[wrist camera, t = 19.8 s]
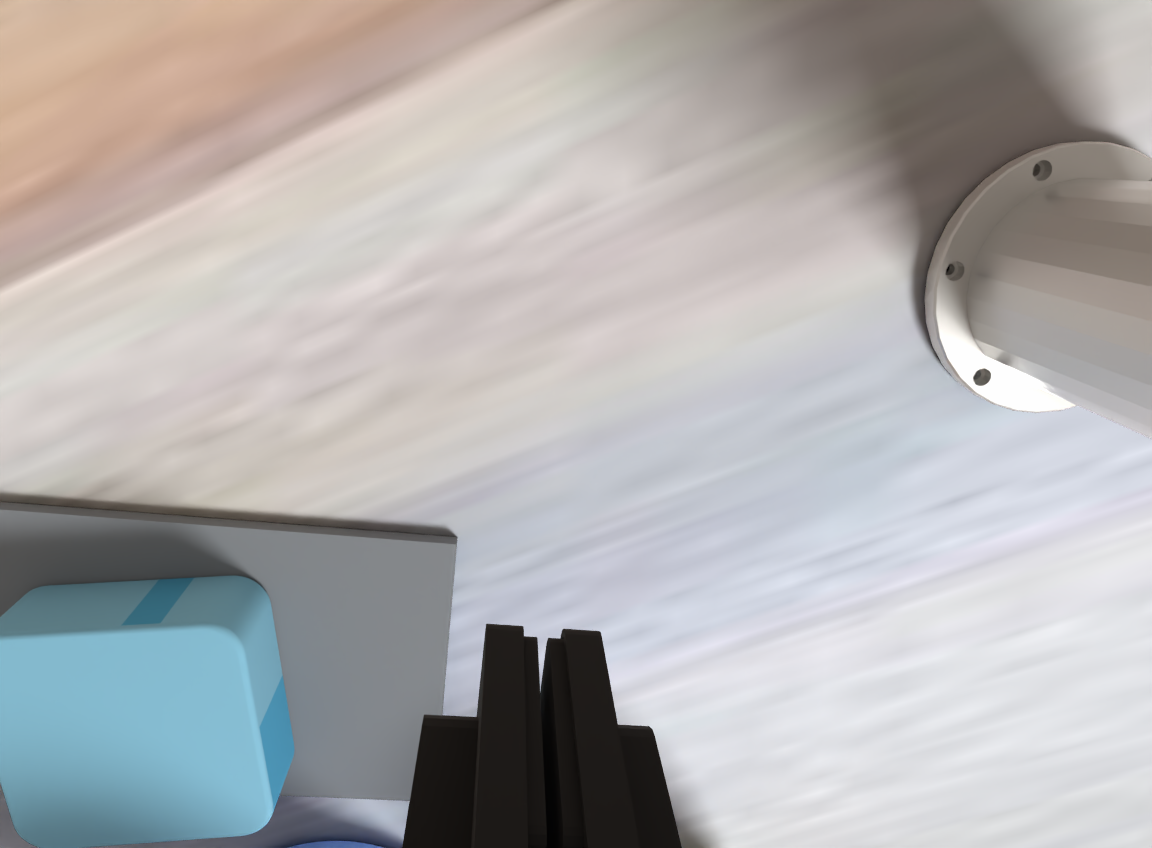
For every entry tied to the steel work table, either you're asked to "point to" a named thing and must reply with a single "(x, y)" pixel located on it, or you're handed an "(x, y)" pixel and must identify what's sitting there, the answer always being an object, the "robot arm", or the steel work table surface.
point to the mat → (285, 620)
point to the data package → (142, 712)
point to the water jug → (335, 845)
